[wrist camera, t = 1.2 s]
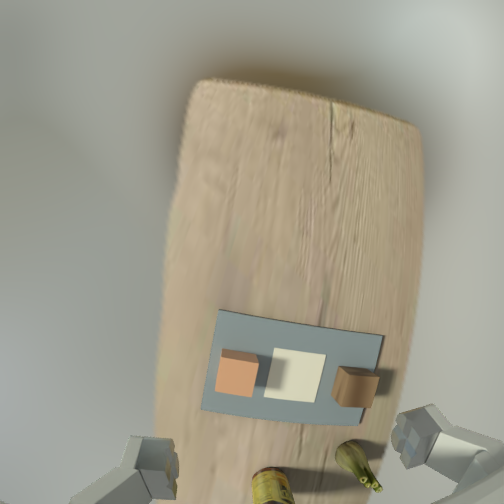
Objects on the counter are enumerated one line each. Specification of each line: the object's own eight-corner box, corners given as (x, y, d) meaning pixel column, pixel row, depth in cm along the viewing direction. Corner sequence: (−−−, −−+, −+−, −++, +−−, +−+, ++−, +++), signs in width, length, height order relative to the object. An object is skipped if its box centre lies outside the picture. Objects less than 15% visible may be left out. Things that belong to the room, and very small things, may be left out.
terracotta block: (255, 354, 45) (258, 363, 40) (249, 385, 45) (251, 397, 40) (222, 348, 45) (221, 356, 40) (216, 379, 45) (214, 391, 40)
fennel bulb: (361, 456, 46) (387, 490, 34) (336, 466, 46) (358, 504, 34) (355, 433, 46) (383, 467, 34) (329, 444, 46) (352, 481, 34)
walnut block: (366, 368, 46) (379, 377, 41) (358, 396, 46) (370, 408, 41) (338, 365, 46) (349, 375, 41) (330, 395, 45) (340, 406, 40)
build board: (379, 334, 48) (383, 336, 46) (355, 423, 46) (358, 426, 45) (218, 309, 46) (218, 310, 45) (201, 406, 45) (200, 409, 44)
